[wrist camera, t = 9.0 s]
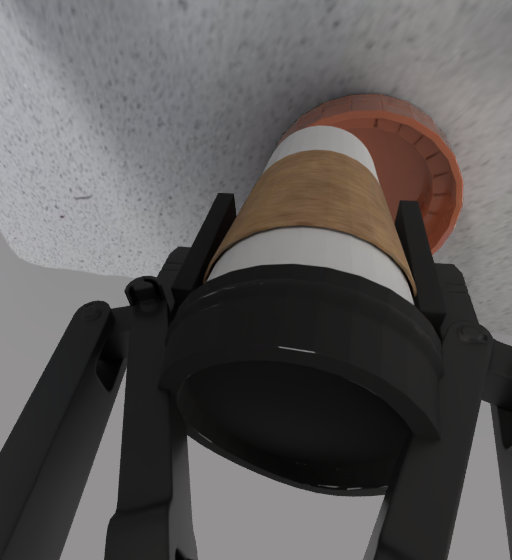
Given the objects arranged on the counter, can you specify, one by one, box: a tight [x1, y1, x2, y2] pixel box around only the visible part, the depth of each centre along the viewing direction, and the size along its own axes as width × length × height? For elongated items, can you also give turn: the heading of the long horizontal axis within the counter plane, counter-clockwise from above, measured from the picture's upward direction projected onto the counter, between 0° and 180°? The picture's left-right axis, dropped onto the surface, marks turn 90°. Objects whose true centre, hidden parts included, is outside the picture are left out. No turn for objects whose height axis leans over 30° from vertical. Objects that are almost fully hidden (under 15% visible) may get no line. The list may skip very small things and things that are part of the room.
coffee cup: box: [158, 126, 445, 496], centre depth 15 cm, size 8×8×15 cm
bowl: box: [270, 94, 463, 255], centre depth 38 cm, size 19×19×5 cm
